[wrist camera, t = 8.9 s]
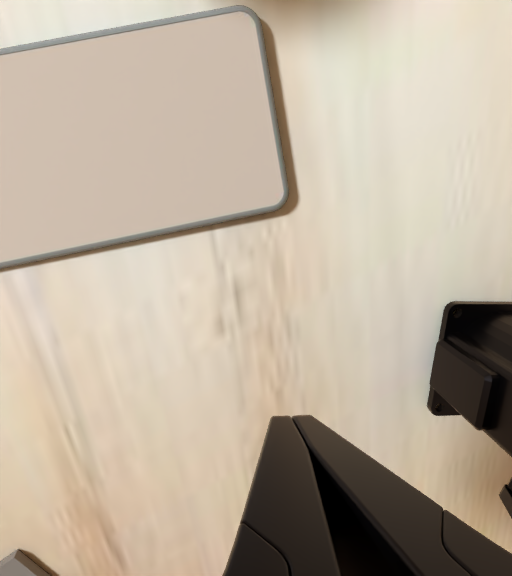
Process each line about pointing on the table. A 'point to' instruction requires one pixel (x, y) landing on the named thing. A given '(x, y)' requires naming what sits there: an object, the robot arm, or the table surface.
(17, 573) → the rubber mat
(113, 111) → the smartphone
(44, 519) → the table surface
